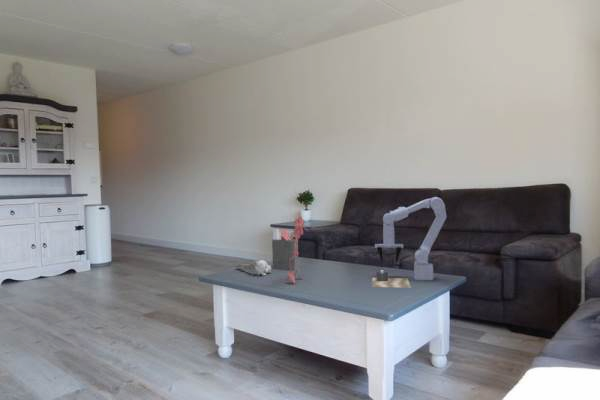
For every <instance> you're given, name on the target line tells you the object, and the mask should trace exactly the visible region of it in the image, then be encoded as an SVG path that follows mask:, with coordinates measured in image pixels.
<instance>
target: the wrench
mask: <svg viewBox="0 0 600 400" xmlns="http://www.w3.org/2000/svg"><path fill="white" fill-rule="evenodd" d="M258 261H259V260H253V261H252V262H251V263H250V264H248V263H247V264H246V263H235V265H234V266H235V267H234V268H235V270H250V272H251V274H252V275H253V276H255V275H254V274H256V275H257V273H258V271H257V270H256V269H255V265H256V266H259V263H258Z"/></svg>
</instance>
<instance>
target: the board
mask: <svg viewBox="0 0 600 400" xmlns="http://www.w3.org/2000/svg"><path fill="white" fill-rule="evenodd" d="M371 282H372V284H371V287H372V288H400V289H401V288H402V289H403V288H405V289H407V288H408V289H411V288H412V286H411V284H410V281H409V279H408V277H407V278H405V277H404V278H403V277H400V278H399V277H388V281H377V278H376V277H372V280H371Z"/></svg>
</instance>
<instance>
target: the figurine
mask: <svg viewBox="0 0 600 400" xmlns="http://www.w3.org/2000/svg"><path fill="white" fill-rule="evenodd" d="M294 222H295V226H294V230H293V232H292V234H291V235H290V236H289V233H288V232H287V231H286V230H284V229H283V228H281V230H280V235H281V236H282V237H283V238H284V239H285V241H288V240H290V238H291V240H292V239H293V240H292V241H295V251H294V253H293V254H294V256H295V264H298V258H297V256H299V252H298V242H297V240H299V239H301V236H302V235H304V231H303V229H305V230H306V232H308V233H310V231H309V230H308V229H307V228H306V227H305V226H304V223H305V220H304V219H302V215H298V217H296V218H295V220H294ZM295 238H296V239H297V240H296V239H295ZM294 256H293V257H294ZM293 257H292V258H293ZM292 258H291V259H292ZM291 259H290V260H291ZM290 260H289V263H290ZM297 272H298V274H299V276H300V277H301V279H302V280H303V276H302V274H300V272H299V267H298V265H296V268H295V272H294V274H293V272H292V271H291V267H290V270H288V276H287V278H286V280H285V283H287V282H288V280H289V279H290V281H291V282H292V283H293V284H294V285H295V284H296V278H295V276H296V274H297ZM312 279H314V280H315V278H313V277H312ZM279 285H281V286H282V284H281V283H280V284H279Z"/></svg>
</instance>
